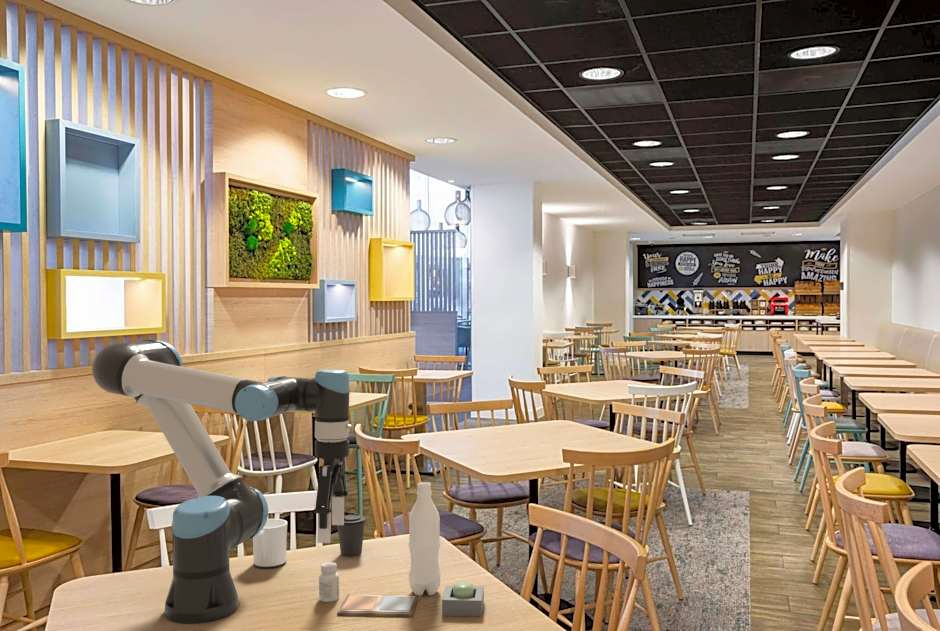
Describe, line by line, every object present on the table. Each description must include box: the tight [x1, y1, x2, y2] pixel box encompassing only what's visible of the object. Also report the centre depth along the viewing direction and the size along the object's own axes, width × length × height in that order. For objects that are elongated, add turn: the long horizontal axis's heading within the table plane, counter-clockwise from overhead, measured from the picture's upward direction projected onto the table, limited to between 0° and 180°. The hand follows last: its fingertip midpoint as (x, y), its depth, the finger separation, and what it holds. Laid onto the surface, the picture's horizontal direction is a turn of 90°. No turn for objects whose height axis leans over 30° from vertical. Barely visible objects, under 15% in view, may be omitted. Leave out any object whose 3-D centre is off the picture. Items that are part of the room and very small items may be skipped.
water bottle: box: [408, 481, 441, 597], centre depth 187 cm, size 7×7×25 cm
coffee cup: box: [336, 514, 367, 558], centre depth 216 cm, size 8×8×10 cm
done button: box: [452, 581, 474, 598], centre depth 177 cm, size 4×4×3 cm
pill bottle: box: [318, 561, 340, 603], centre depth 184 cm, size 4×4×8 cm
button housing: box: [441, 585, 485, 618], centre depth 178 cm, size 8×8×3 cm
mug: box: [252, 518, 288, 570], centre depth 207 cm, size 11×9×10 cm
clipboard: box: [336, 594, 419, 618], centre depth 179 cm, size 16×10×1 cm, turn 86°
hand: (331, 533), depth 184 cm, fingers open, 13 cm apart
